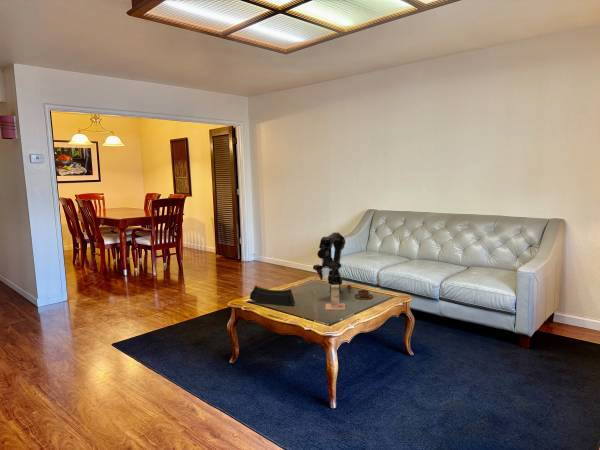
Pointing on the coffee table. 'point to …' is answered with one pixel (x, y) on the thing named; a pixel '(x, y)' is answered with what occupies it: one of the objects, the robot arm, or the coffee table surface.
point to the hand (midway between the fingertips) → (327, 279)
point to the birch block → (334, 296)
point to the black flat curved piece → (272, 296)
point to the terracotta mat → (341, 307)
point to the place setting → (361, 294)
